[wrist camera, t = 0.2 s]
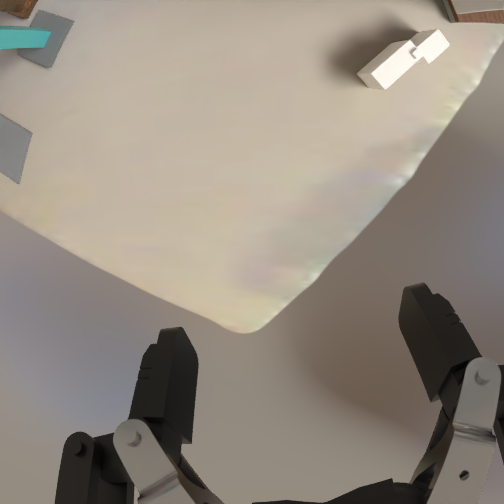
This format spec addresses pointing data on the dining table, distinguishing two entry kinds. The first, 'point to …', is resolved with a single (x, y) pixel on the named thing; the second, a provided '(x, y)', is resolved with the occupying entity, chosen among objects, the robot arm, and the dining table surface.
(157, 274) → the dining table surface
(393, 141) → the dining table surface
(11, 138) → the slate pad
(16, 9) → the bent wire rig
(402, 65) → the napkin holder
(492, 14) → the tall white tower
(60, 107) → the dining table surface
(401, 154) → the dining table surface
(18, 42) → the turquoise post on base
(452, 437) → the robot arm
